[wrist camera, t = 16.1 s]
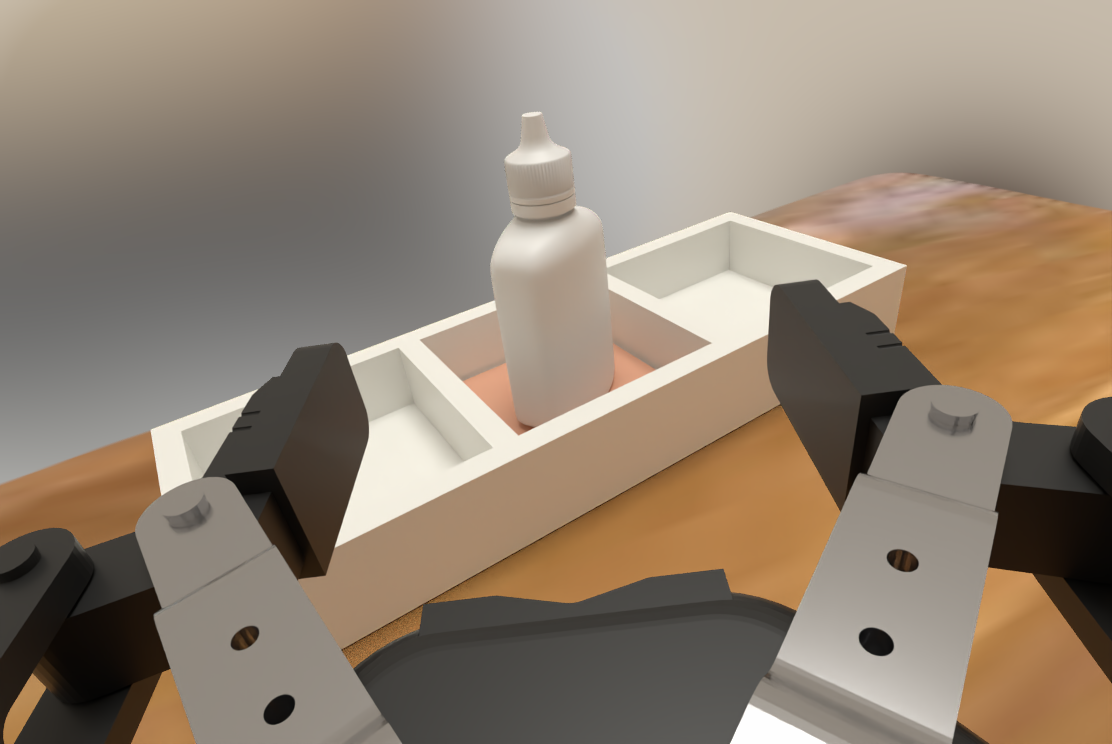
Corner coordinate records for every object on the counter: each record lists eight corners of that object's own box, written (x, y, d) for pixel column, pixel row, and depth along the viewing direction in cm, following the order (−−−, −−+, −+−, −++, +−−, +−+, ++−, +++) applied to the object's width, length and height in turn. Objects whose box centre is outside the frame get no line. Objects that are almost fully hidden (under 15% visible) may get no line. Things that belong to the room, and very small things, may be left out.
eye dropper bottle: (490, 399, 30) (433, 124, 23) (593, 355, 32) (567, 92, 25) (538, 447, 26) (487, 142, 20) (649, 394, 29) (635, 104, 22)
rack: (728, 274, 40) (730, 211, 38) (892, 341, 32) (907, 265, 30) (192, 503, 28) (150, 429, 26) (238, 707, 20) (182, 623, 18)
